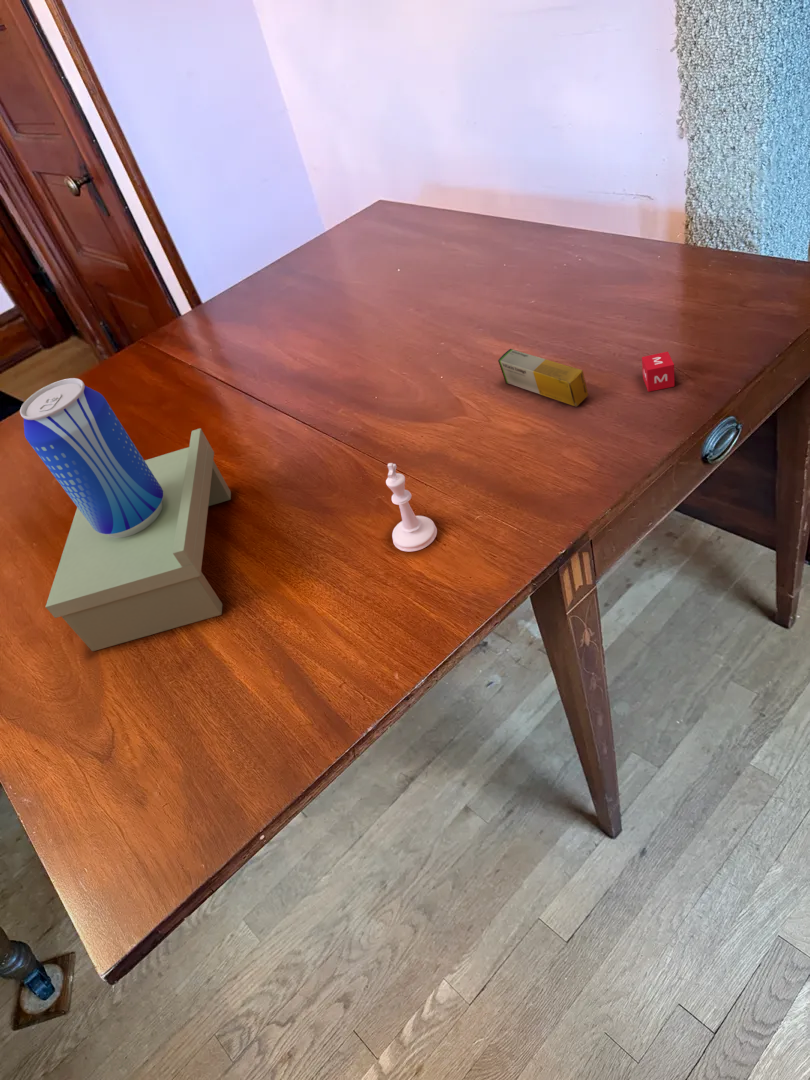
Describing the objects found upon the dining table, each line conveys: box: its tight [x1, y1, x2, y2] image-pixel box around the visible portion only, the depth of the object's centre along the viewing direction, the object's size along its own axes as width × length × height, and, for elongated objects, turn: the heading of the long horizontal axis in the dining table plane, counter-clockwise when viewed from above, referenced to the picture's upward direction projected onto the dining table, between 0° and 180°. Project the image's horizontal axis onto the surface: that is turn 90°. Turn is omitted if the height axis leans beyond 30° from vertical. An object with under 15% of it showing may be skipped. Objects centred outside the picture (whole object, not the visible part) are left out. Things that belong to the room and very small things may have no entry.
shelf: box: [45, 427, 232, 652], centre depth 85 cm, size 16×22×10 cm
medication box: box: [497, 348, 589, 407], centre depth 92 cm, size 12×3×4 cm, turn 40°
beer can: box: [19, 377, 163, 538], centre depth 78 cm, size 8×8×16 cm
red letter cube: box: [641, 351, 675, 392], centre depth 88 cm, size 3×3×3 cm
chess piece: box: [385, 462, 438, 553], centre depth 77 cm, size 5×5×10 cm
